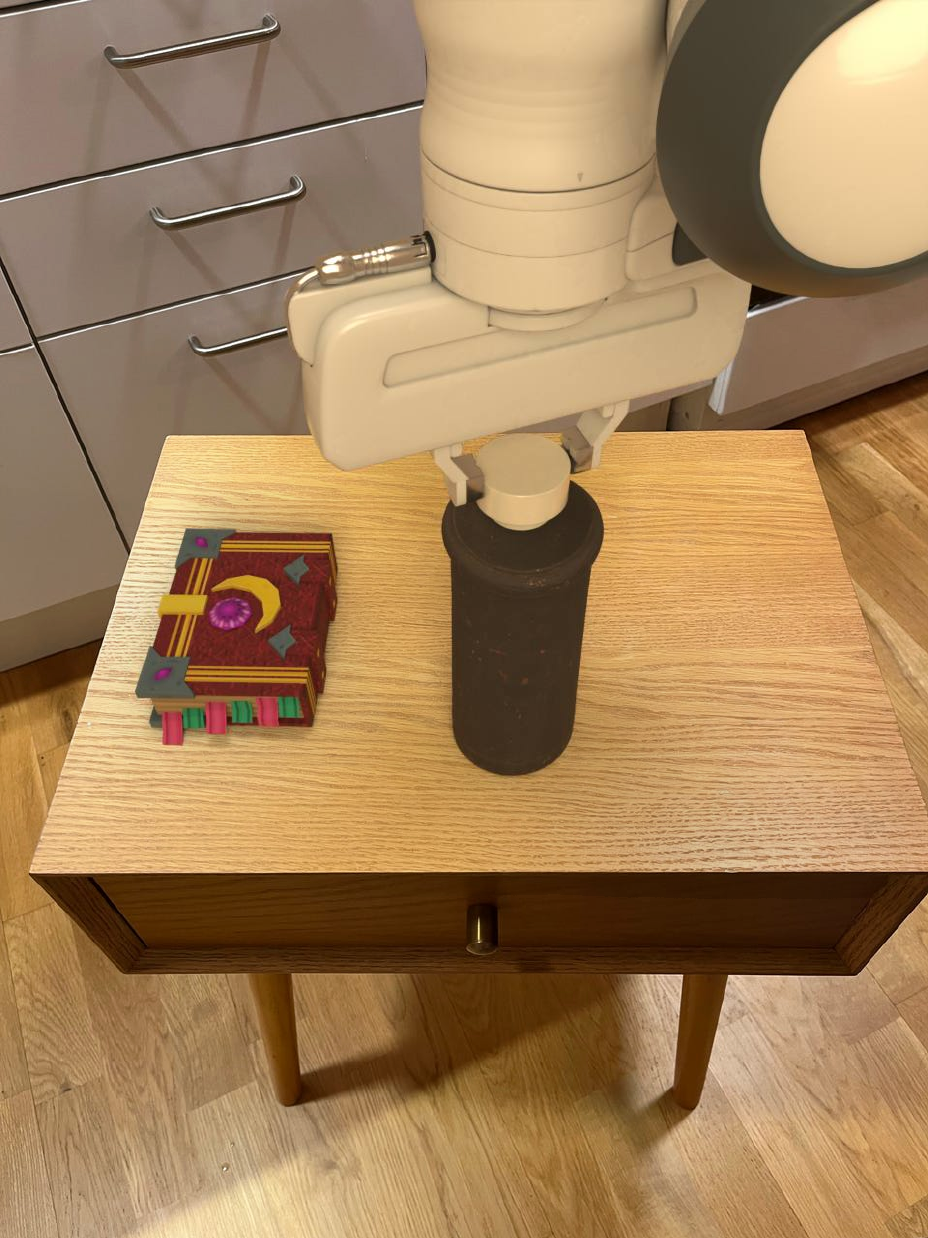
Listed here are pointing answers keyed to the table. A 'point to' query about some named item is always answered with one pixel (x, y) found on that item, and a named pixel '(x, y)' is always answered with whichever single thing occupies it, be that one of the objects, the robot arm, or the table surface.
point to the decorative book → (241, 632)
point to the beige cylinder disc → (523, 480)
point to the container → (518, 631)
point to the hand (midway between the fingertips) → (522, 479)
